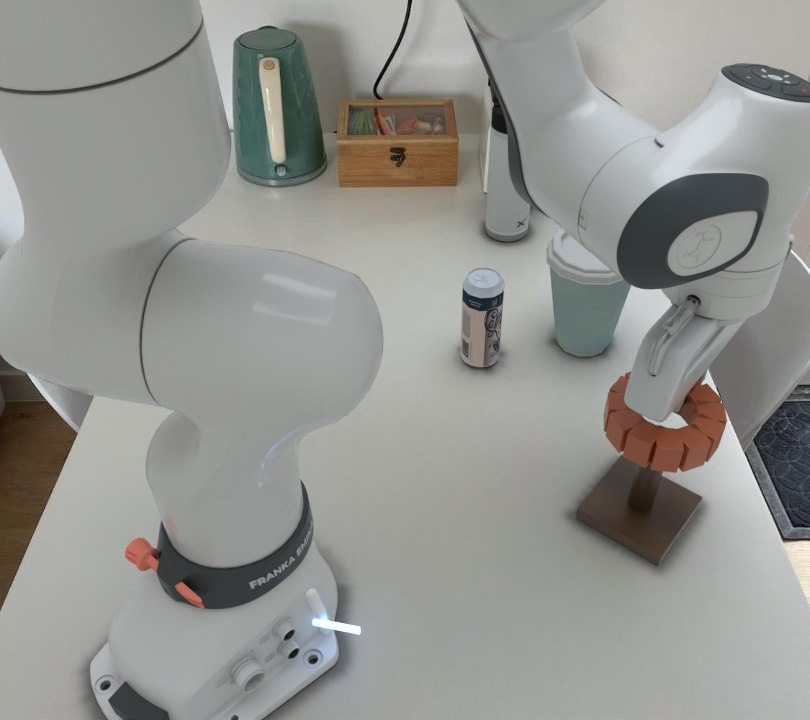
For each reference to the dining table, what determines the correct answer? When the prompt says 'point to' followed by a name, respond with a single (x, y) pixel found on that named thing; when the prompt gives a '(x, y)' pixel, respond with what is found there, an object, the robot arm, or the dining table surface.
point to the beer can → (481, 317)
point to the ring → (666, 430)
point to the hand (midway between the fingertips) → (682, 393)
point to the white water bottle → (503, 187)
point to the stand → (639, 509)
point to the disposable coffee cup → (583, 297)
